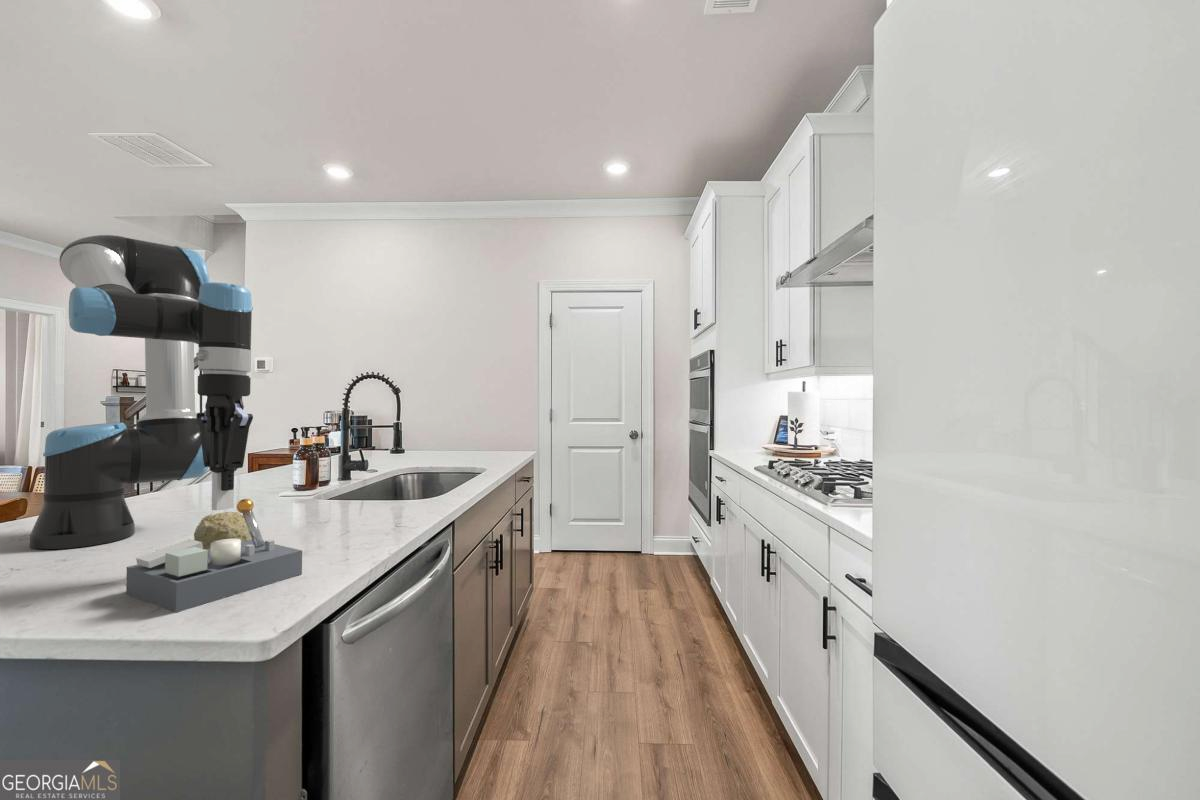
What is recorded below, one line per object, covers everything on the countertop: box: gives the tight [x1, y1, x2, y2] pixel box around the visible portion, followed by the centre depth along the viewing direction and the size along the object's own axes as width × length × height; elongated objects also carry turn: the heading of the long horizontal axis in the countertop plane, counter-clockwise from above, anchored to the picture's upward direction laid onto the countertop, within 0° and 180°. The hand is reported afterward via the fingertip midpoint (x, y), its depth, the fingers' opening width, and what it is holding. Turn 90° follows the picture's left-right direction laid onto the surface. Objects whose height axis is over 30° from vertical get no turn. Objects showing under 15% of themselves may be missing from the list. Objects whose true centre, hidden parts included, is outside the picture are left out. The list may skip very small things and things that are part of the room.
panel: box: [125, 539, 303, 613], centre depth 83 cm, size 14×18×6 cm
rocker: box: [135, 538, 203, 568], centre depth 80 cm, size 4×7×1 cm, turn 153°
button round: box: [210, 539, 241, 565], centre depth 80 cm, size 4×4×3 cm
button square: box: [165, 547, 208, 577], centre depth 76 cm, size 4×4×3 cm
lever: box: [236, 498, 265, 548], centre depth 88 cm, size 2×2×9 cm
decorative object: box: [193, 511, 252, 550], centre depth 98 cm, size 9×10×10 cm
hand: (222, 508), depth 91 cm, fingers closed
